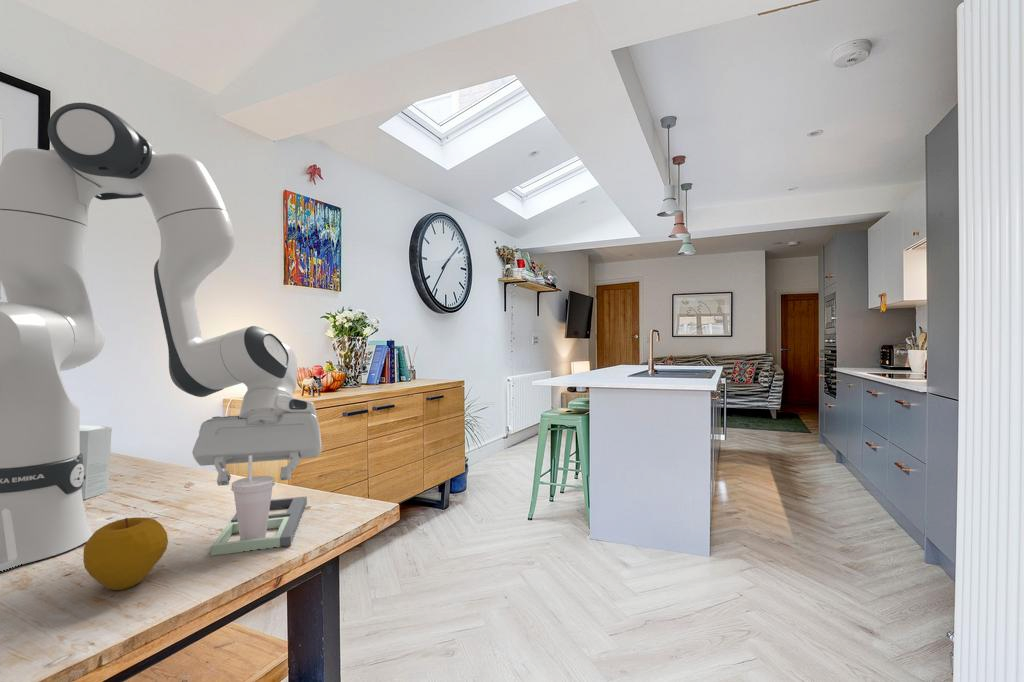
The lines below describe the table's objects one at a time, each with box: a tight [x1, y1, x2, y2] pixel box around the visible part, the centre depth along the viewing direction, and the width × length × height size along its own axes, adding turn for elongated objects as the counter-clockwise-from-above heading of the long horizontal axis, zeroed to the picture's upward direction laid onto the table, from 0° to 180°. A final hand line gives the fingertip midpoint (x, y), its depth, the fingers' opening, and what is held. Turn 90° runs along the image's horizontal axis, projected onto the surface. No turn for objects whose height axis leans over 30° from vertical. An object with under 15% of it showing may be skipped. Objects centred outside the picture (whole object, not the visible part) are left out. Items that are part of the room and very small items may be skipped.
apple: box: [83, 517, 169, 591], centre depth 63 cm, size 9×9×9 cm
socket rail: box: [210, 496, 308, 557], centre depth 83 cm, size 11×21×2 cm, turn 17°
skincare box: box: [80, 425, 113, 501], centre depth 101 cm, size 8×6×15 cm
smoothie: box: [230, 455, 276, 541], centre depth 78 cm, size 6×6×14 cm
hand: (254, 481), depth 79 cm, fingers open, 8 cm apart
